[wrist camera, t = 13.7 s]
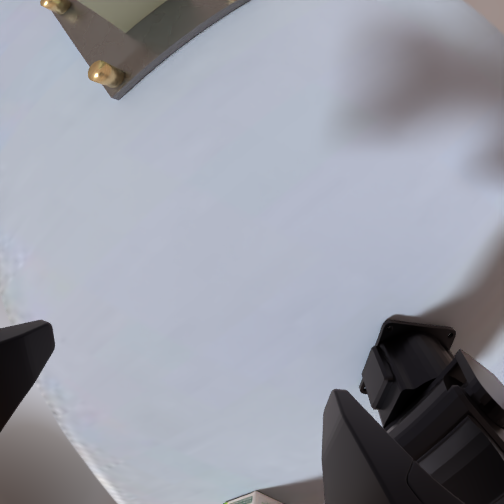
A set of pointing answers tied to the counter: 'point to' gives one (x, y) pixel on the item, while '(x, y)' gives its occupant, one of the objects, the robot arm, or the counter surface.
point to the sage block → (122, 10)
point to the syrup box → (254, 499)
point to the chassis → (134, 37)
